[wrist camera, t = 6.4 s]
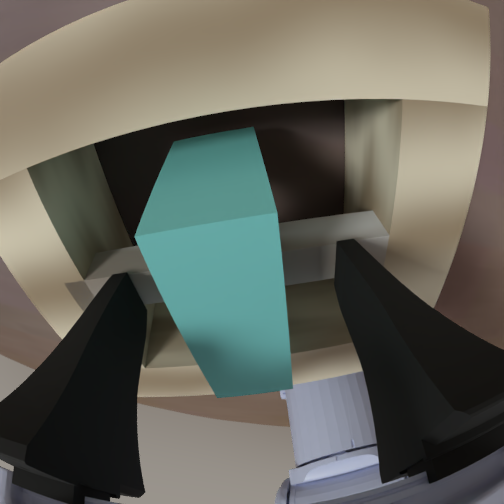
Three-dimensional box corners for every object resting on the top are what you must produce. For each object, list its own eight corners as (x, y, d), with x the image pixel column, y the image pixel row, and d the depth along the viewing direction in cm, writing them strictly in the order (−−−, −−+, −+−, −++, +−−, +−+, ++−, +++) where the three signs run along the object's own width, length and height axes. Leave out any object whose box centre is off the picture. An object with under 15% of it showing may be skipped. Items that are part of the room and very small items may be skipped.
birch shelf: (383, 298, 20) (409, 358, 16) (129, 334, 20) (117, 396, 17) (410, 4, 8) (488, 7, 5) (9, 80, 9) (-64, 114, 5)
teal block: (274, 281, 16) (292, 388, 11) (216, 290, 16) (217, 398, 11) (253, 126, 11) (277, 212, 6) (173, 141, 11) (134, 236, 6)
